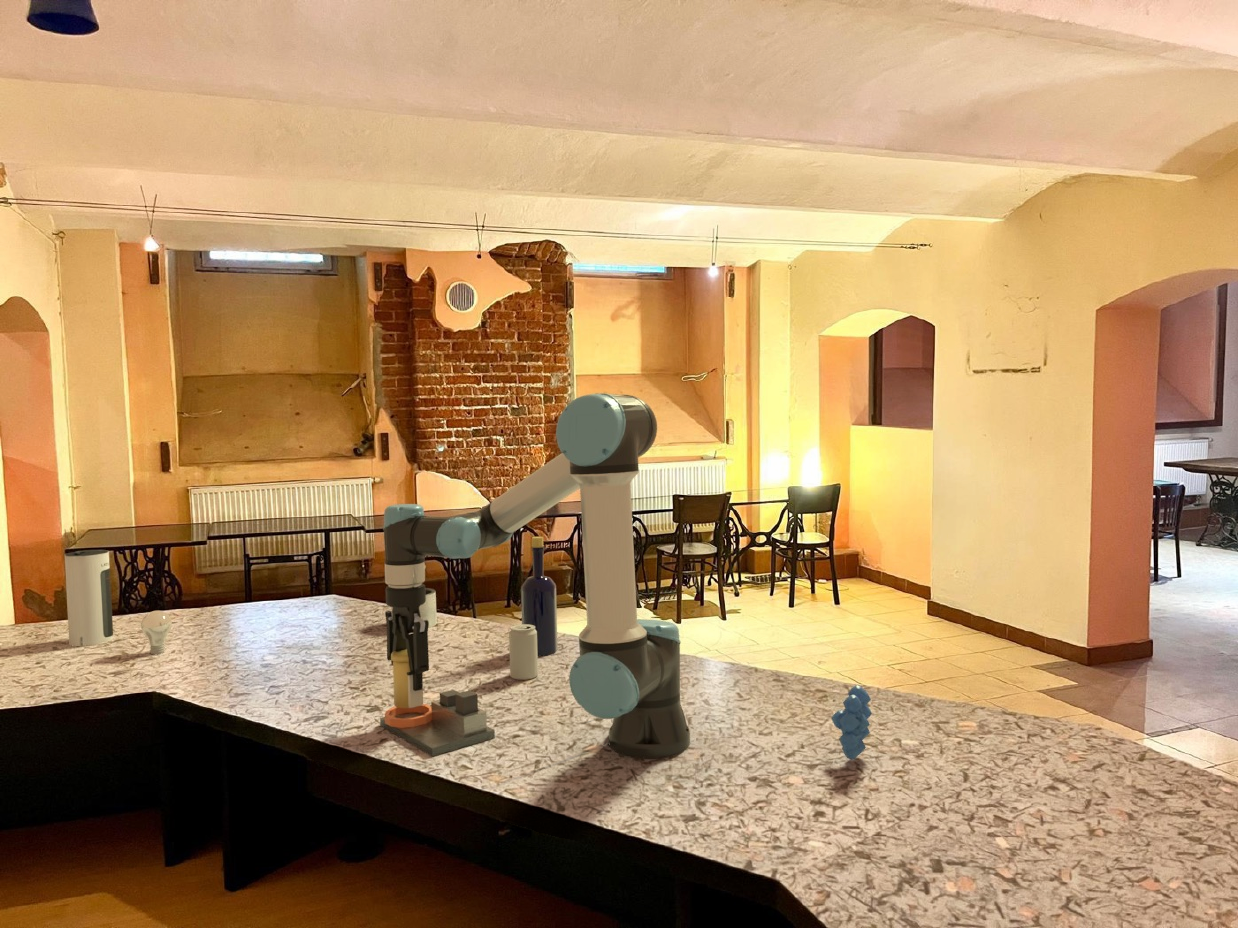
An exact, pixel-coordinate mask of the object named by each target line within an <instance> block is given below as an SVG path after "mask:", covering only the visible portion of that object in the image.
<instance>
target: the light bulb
mask: <svg viewBox="0 0 1238 928" xmlns="http://www.w3.org/2000/svg"><path fill="white" fill-rule="evenodd" d="M172 624H173V622H172V618H171V617H170V615H169V613H167V612H164V611H163V610H153V611H150V612H149V613H147V614H145V616H143V618H142V620H141V624H140V629H141V631H142V634H143V635H144V636H145V637H146V639H147V641H148V644H149V646H150V647H149V648H150V654H151V655H153V654H157V655H162V654H163V653H165V651H166V645H165V644H166V640H167V636H168V634H169V632H170V631H171V629H172ZM161 653H162V654H161Z"/></svg>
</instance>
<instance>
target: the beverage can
mask: <svg viewBox="0 0 1238 928" xmlns="http://www.w3.org/2000/svg"><path fill="white" fill-rule="evenodd" d="M508 636H509V637H508V642H509V643H508V644H509V646H508V647H509V648H508V649H509V676H510V678H512V679H514V680H516V681H527V680H531V679H534V678H536V677H538V675H539V666H538V665H539V663H538V661H539V659H538V657H539V656H538V654H537V631H536V630H535V626H534V625H529V624H522V623H521V624H515V625H512V626H510V631H508Z"/></svg>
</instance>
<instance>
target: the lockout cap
mask: <svg viewBox="0 0 1238 928" xmlns="http://www.w3.org/2000/svg"><path fill="white" fill-rule="evenodd" d="M391 660H392V661H393V666H392V669H393V670H392V673H393V675H392V676H393V677H392V679H393V705H394V706H393V707H398V708H409V703H408V675H407V672H410V667H409V658H408V654H407V649H405V650H400V651H394V652H392V653H391ZM391 660H390V661H391Z"/></svg>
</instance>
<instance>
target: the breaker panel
mask: <svg viewBox="0 0 1238 928" xmlns="http://www.w3.org/2000/svg"><path fill="white" fill-rule="evenodd" d="M430 703H431V704H430V705H429V704H428V705H429V706H431V710H432V720H431V721H430V722H428V723H426V724H423V725H419V726H416V727H405V728H399V727H391V726H389V725H387V724H386V723H385V716H383V717H380V718H379V721H380V723H379V725H380V727H382V728H384V729H385V730H387V731H389V732H390V733H392V734H394V735H396V736H397V737H399V738H401V739H402V740H404V741H406V742H407V743H409V744H410V745H413V746H414V747H415V748H418V749H419V750H421V751H423V752H424V753H426V754H428V755H429V756H431V757H436V756H439V755H442V754H446V753H449V752H452V751H455V750H459V749H462V748H465V747H466V748H467V747H469V746H472V745H476V744H479V743H482V742H486V741H490V740H493V739H495V738H496V736H495V735H496V733H495V731H496V730H495V729H494V728H492V727H490V726H488V725H487V711H486V710H484V709H482V708H479V707H478V712H474V713H470V714H467V715H462V714H460V713H457V712H456V705H454V706H451V707H445V706H443V705H441V704H440V699H437V700H433V701H431V702H430ZM424 714H425V713H418V712H412V713H403V714H399V715H396V716H394V718H414V717H418V716H422V715H424Z"/></svg>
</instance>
